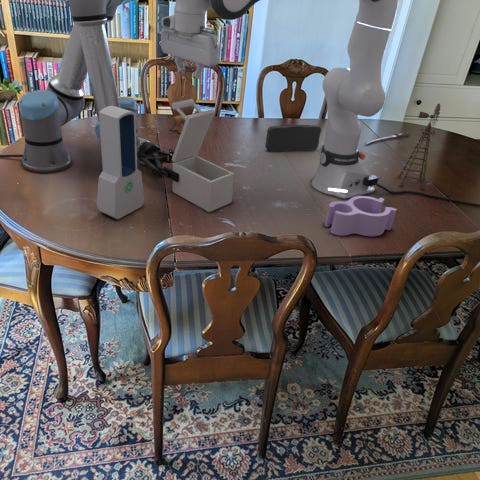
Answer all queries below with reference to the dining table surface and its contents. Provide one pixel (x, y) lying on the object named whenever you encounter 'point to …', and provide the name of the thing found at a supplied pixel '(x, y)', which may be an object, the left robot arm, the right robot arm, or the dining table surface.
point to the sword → (385, 138)
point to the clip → (359, 216)
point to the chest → (203, 183)
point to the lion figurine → (179, 122)
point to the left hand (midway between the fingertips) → (190, 173)
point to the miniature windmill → (428, 131)
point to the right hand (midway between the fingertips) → (189, 75)
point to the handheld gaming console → (292, 137)
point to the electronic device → (119, 164)
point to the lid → (191, 130)
